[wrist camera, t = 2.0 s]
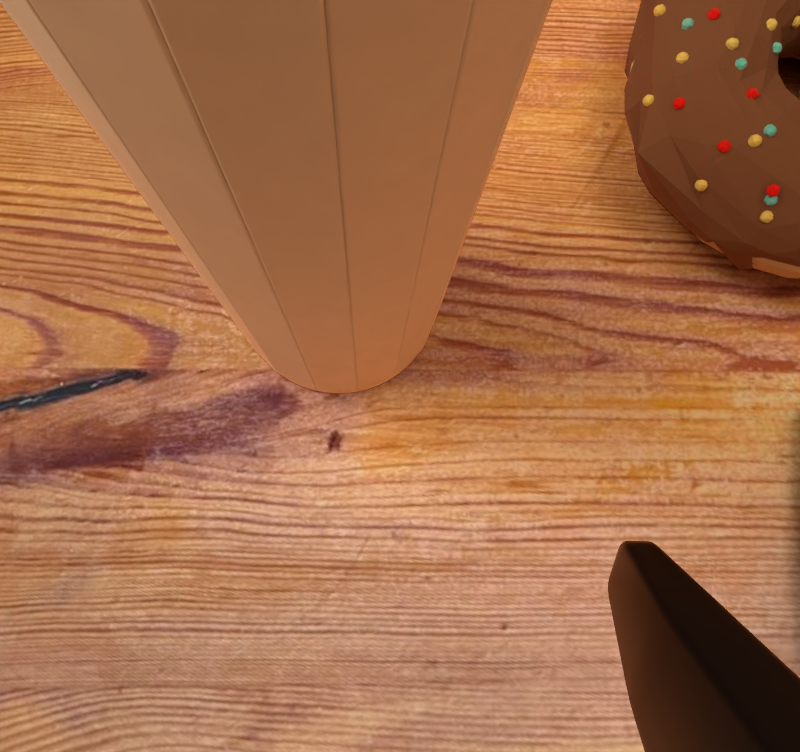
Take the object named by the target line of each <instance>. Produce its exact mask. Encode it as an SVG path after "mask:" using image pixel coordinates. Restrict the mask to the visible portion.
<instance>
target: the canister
mask: <svg viewBox="0 0 800 752" xmlns="http://www.w3.org/2000/svg"><path fill="white" fill-rule="evenodd" d="M0 3H1V5H2V6H3V7H4V9H5V10H6V11H7V13H8V14H9V16H10V17H11V18H12V20H13V21H14V22H15V24H16V25H17V26H18V28H19V29H20V31H21V32H22V33H23V35H24V36H25V37H26V39H27V40H28V42H29V43H30V44H31V46H32V47H33V48H34V50H35V51H36V52H37V54H38V55H39V57H40V58H41V59H42V61H43V62H44V63H45V65H46V66H47V67H48V69H49V70H50V72H51V73H52V74H53V76H54V77H55V78H56V80H57V81H58V83H59V84H60V85H61V87H62V88H63V89H64V91H65V92H66V93H67V95H68V96H69V98H70V99H71V100H72V102H73V103H74V104H75V106H76V107H77V108H78V110H79V111H80V113H81V114H82V115H83V117H84V118H85V119H86V121H87V122H88V124H89V125H90V126H91V128H92V129H93V130H94V132H95V133H96V134H97V136H98V137H99V139H100V140H101V141H102V143H103V144H104V145H105V147H106V148H107V149H108V151H109V152H110V154H111V155H112V156H113V158H114V159H115V160H116V162H117V163H118V165H119V166H120V167H121V169H122V170H123V171H124V173H125V174H126V175H127V177H128V178H129V180H130V181H131V182H132V184H133V185H134V186H135V188H136V189H137V190H138V192H139V193H140V195H141V196H142V197H143V199H144V200H145V201H146V203H147V204H148V206H149V207H150V208H151V210H152V211H153V212H154V214H155V215H156V216H157V218H158V219H159V221H160V222H161V223H162V225H163V226H164V227H165V229H166V230H167V231H168V233H169V234H170V236H171V237H172V238H173V240H174V241H175V242H176V244H177V245H178V247H179V248H180V249H181V251H182V252H183V253H184V255H185V256H186V257H187V259H188V260H189V262H190V263H191V264H192V266H193V267H194V268H195V270H196V271H197V272H198V274H199V275H200V277H201V278H202V279H203V281H204V282H205V283H206V285H207V286H208V288H209V289H210V290H211V292H212V293H213V294H214V296H215V297H216V298H217V300H218V301H219V303H220V304H221V305H222V307H223V308H224V309H225V311H226V312H227V313H228V315H229V316H230V318H231V319H232V320H233V322H234V323H235V324H236V326H237V327H238V329H239V330H240V331H241V333H242V334H243V335H244V337H245V338H246V339H247V341H248V342H249V344H250V345H251V346H252V348H253V349H254V350H255V351H256V352H257V353H258V354H259V355H260V356H261V357H262V358H263V359H264V360H265V361H266V363H267V364H268V365H269V366H270V367H272V368H273V369H274V370H275V371H276V372H277V373H278V374H280V375H281V376H283V377H285V378H286V379H288V380H289V381H291V382H293V383H295V384H297V385H299V386H302V387H305V388H308V389H311V390H315V391H320V392H325V393H352V392H357V391H362V390H366V389H369V388H372V387H375V386H378V385H380V384H382V383H384V382H386V381H388V380H390V379H391V378H393V377H394V376H396V375H397V374H399V373H400V372H401V371H402V370H404V369H405V368H406V367H407V366H408V365H409V364H410V363H411V362H412V361H413V360H414V359H415V357H416V356H417V355H418V354H419V352H420V351H421V350H422V349H423V347H424V346H425V343H426V341H427V339H428V336H429V334H430V332H431V329H432V327H433V324H434V322H435V319H436V317H437V314H438V312H439V309H440V306H441V304H442V301H443V298H444V295H445V293H446V290H447V287H448V284H449V282H450V279H451V276H452V274H453V271H454V268H455V265H456V263H457V260H458V257H459V254H460V252H461V249H462V246H463V243H464V241H465V238H466V235H467V233H468V230H469V227H470V224H471V222H472V219H473V216H474V213H475V211H476V208H477V205H478V202H479V200H480V197H481V194H482V191H483V189H484V186H485V183H486V181H487V178H488V175H489V172H490V170H491V167H492V164H493V161H494V159H495V156H496V153H497V150H498V148H499V145H500V142H501V140H502V137H503V134H504V131H505V129H506V126H507V123H508V120H509V118H510V115H511V112H512V109H513V107H514V104H515V101H516V99H517V96H518V93H519V90H520V88H521V85H522V82H523V79H524V77H525V74H526V71H527V68H528V66H529V63H530V60H531V57H532V55H533V52H534V49H535V47H536V44H537V41H538V38H539V36H540V33H541V30H542V27H543V25H544V22H545V19H546V16H547V14H548V11H549V8H550V6H551V3H552V0H0Z"/></svg>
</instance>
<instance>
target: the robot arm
mask: <svg viewBox="0 0 800 752" xmlns="http://www.w3.org/2000/svg"><path fill="white" fill-rule="evenodd" d="M608 594H609V600H610V605H611V610H612V615H613V620H614V626H615V631H616V636H617V641H618V646H619V651H620V656H621V661H622V666H623V671H624V676H625V681H626V686H627V691H628V695H629V700H630V704H631V707H632V711H633V714H634V718H635V721H636V724H637V728H638V731H639V734H640V737H641V740H642V744H643V747H644V750H645V752H800V678H799V677H798V676H797V675H796V674H795V673H794V672H793V671H792V670H790V669H789V668H788V667H787V666H786V665H785V664H784V663H783V662H782V661H781V660H780V659H779V658H778V657H776V656H775V655H774V654H773V653H772V652H771V651H770V650H769V649H768V648H767V647H766V646H765V645H764V644H762V643H761V642H760V641H759V640H758V639H757V638H756V637H755V636H754V635H753V634H752V633H751V632H750V631H749V630H747V629H746V628H745V627H744V626H743V625H742V624H741V623H740V622H739V621H738V620H737V619H736V618H735V617H733V616H732V615H731V614H730V613H729V612H728V611H727V610H726V609H725V608H724V607H723V606H722V605H721V604H719V603H718V602H717V601H716V600H715V599H714V598H713V597H712V596H711V595H710V594H709V593H708V592H707V591H706V590H704V589H703V588H702V587H701V586H700V585H699V584H698V583H697V582H696V581H695V580H694V579H693V578H692V577H690V576H689V575H688V574H687V573H686V572H685V571H684V570H683V569H682V568H681V567H680V566H679V565H678V564H676V563H675V562H674V561H673V560H672V559H671V558H670V557H669V556H668V555H667V554H666V553H665V552H664V551H662V550H661V549H660V548H659V547H658V546H657V545H656V544H654V543H652V542H649V541H625V542H623V543H622V544H621V545H620V547H619V550H618V553H617V556H616V559H615V562H614V565H613V568H612V571H611V574H610V577H609V582H608Z"/></svg>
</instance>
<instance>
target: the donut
mask: <svg viewBox="0 0 800 752" xmlns="http://www.w3.org/2000/svg"><path fill="white" fill-rule="evenodd" d="M791 57H793V58H795V59H798V60H800V0H642V1H641V5H640V8H639V12H638V16H637V19H636V23H635V27H634V31H633V34H632V38H631V42H630V46H629V51H628V56H627V61H626V66H625V73H626V75H627V78H628V80H627V83H626V86H625V115H626V119H627V122H628V126H629V132H630V135H631V138H632V141H633V144H634V149H635V155H636V161H637V167H638V173H639V175H640V177H641V179H642V180H643V182H644V184H645V185H646V187H647V189H648V190H649V192H650V193H651V194H652V195H653V196H654V197H655V198H656V199H657V200H658V201H659V202H660V203H661V204H662V205H663V206H664V207H665V208H666V209H667V210H668V211H669V212H670V213H671V214H672V215H673V216H674V217H675V218H676V219H677V220H678V221H679V222H680V223H681V224H682V225H683V226H684V227H686V228H687V229H688V230H690V231H691V232H692V233H693V234H694V235H695V236H697V237H698V238H699V239H700V240H701V241H702V242H704V243H705V244H707V245H709V246H711V247H712V248H714V249H716V250H718V251H719V252H721V253H723V254H725V255H726V256H727V258H728V259H729V260H730V261H731V262H732V263H733V264H734V265H735V266H736V267H737V269H738V270H745V269H754V268H755V269H758V270H762V271H765V272H769V273H772V274H775V275H779V276H782V277H786V278H796V279H800V99H798V98H797V97H796V96H795V95H793V94H792V93H791V92H790V91H789V90H788V89H787V88H786V87H785V85H784V83H783V81H782V79H781V77H780V75H779V73H778V58H791Z"/></svg>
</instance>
